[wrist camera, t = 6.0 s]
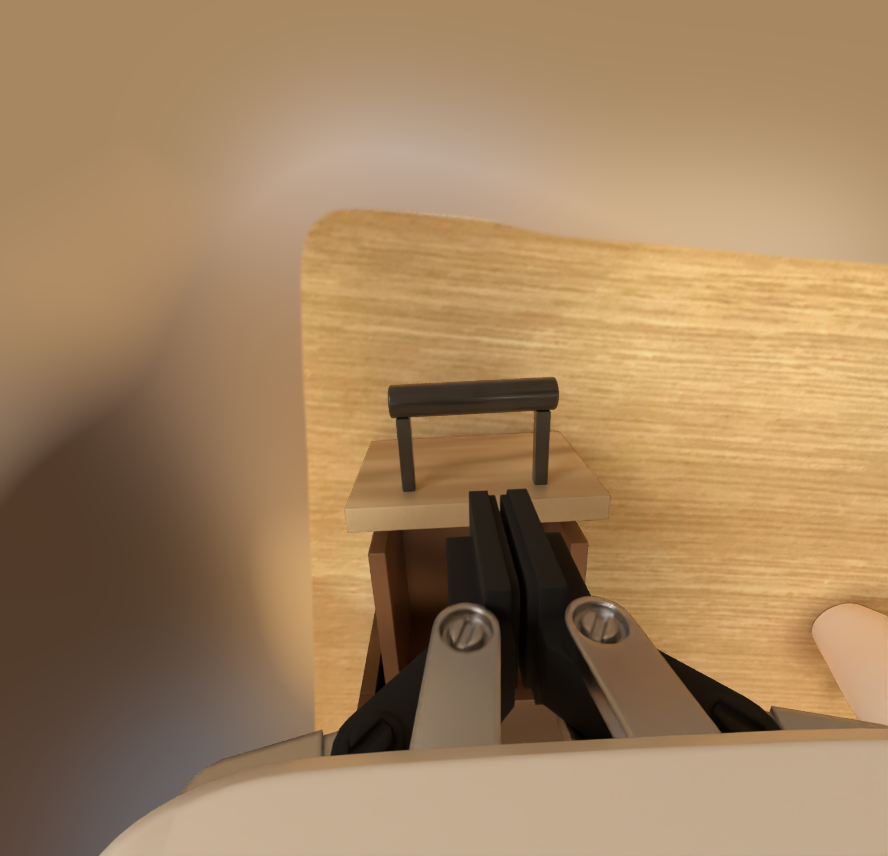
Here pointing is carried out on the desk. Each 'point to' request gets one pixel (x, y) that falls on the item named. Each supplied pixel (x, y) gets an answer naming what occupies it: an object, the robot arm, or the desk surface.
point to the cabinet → (515, 729)
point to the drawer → (458, 497)
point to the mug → (857, 657)
